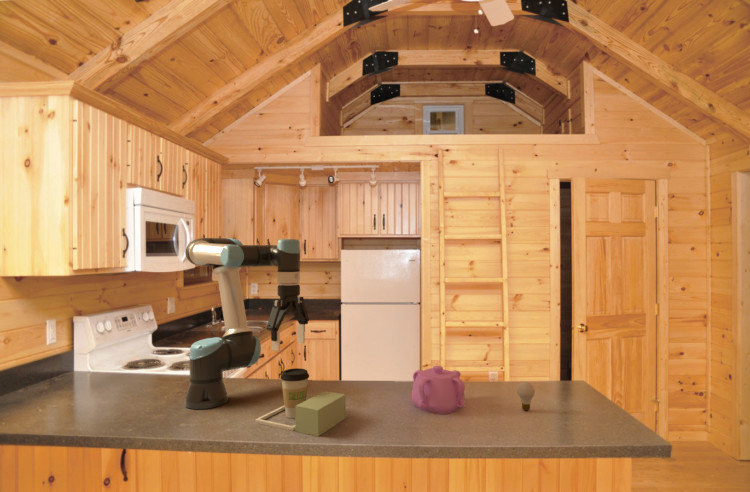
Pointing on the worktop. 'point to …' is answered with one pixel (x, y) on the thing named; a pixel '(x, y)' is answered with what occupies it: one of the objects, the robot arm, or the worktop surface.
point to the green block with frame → (313, 414)
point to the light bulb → (525, 394)
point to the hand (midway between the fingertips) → (288, 346)
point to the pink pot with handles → (438, 390)
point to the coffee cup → (294, 389)
